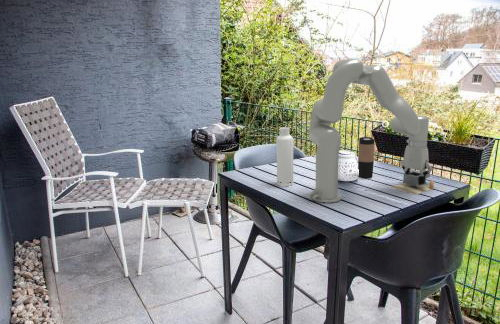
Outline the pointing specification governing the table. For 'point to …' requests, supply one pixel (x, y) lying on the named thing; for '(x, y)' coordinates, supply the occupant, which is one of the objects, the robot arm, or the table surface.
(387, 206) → the table surface
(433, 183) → the dowel
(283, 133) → the bottle
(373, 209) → the table surface
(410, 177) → the flange
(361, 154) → the travel mug
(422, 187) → the board
